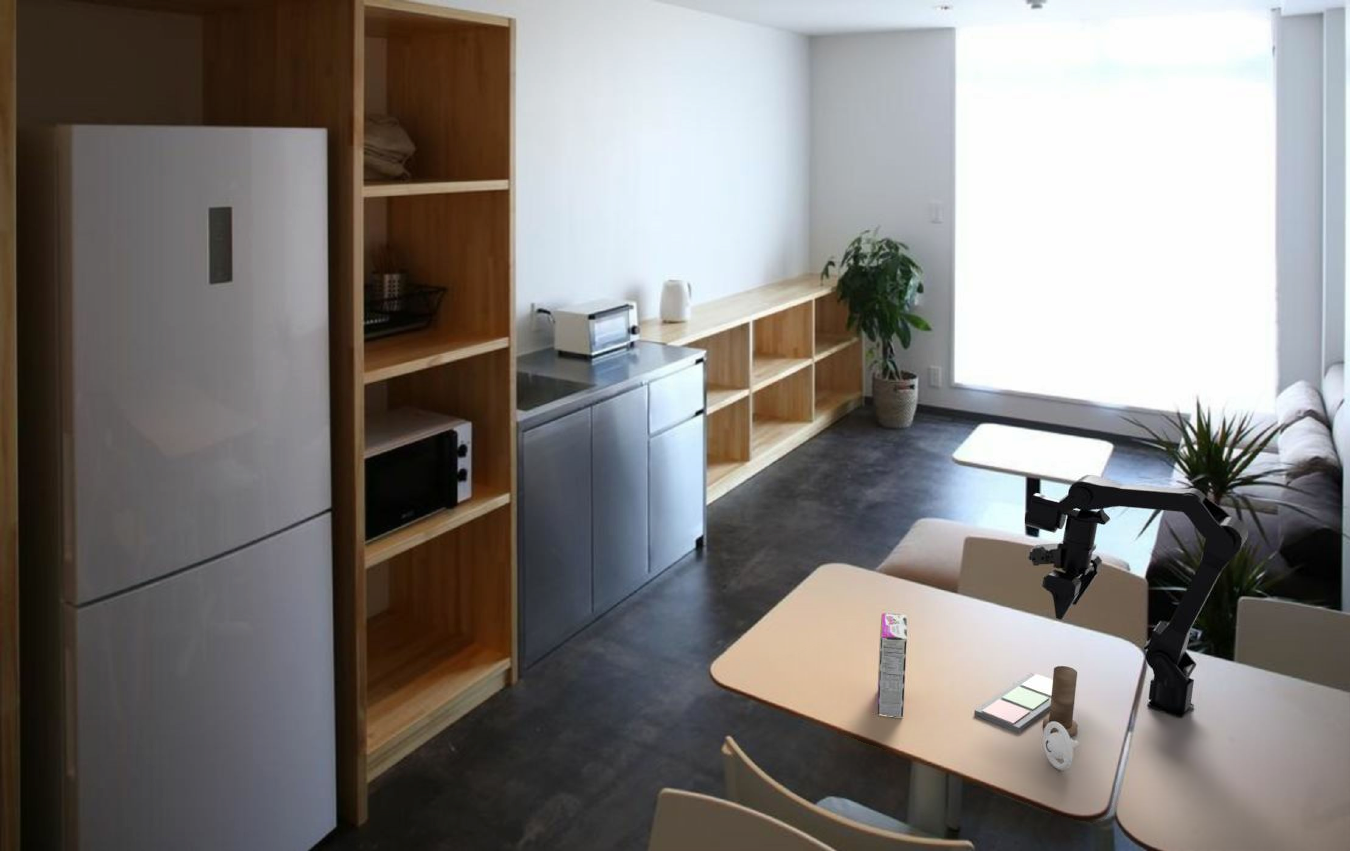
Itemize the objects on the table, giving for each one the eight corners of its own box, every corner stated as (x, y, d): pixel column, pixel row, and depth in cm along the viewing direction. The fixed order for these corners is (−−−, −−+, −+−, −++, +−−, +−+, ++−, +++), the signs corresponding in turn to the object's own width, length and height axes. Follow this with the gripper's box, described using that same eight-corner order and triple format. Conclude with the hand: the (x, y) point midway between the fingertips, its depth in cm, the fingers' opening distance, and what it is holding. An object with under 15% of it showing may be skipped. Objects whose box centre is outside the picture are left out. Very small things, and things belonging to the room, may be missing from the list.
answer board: (1073, 692, 206) (1074, 686, 206) (1018, 732, 191) (1019, 726, 191) (1030, 677, 212) (1031, 671, 212) (974, 714, 197) (974, 708, 197)
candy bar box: (876, 689, 207) (881, 611, 203) (902, 691, 206) (907, 614, 202) (876, 716, 196) (880, 635, 193) (903, 719, 195) (908, 638, 192)
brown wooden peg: (1082, 728, 193) (1089, 671, 190) (1067, 740, 189) (1073, 681, 186) (1052, 716, 197) (1057, 660, 194) (1036, 727, 193) (1042, 670, 190)
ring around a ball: (1033, 755, 183) (1037, 713, 182) (1062, 751, 185) (1066, 710, 183) (1059, 780, 176) (1063, 737, 174) (1089, 776, 177) (1094, 733, 175)
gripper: (1053, 516, 217) (1041, 585, 221) (1022, 540, 203) (1010, 613, 207) (1108, 530, 211) (1095, 601, 215) (1080, 556, 196) (1067, 631, 201)
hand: (1066, 611), depth 210 cm, fingers open, 9 cm apart
